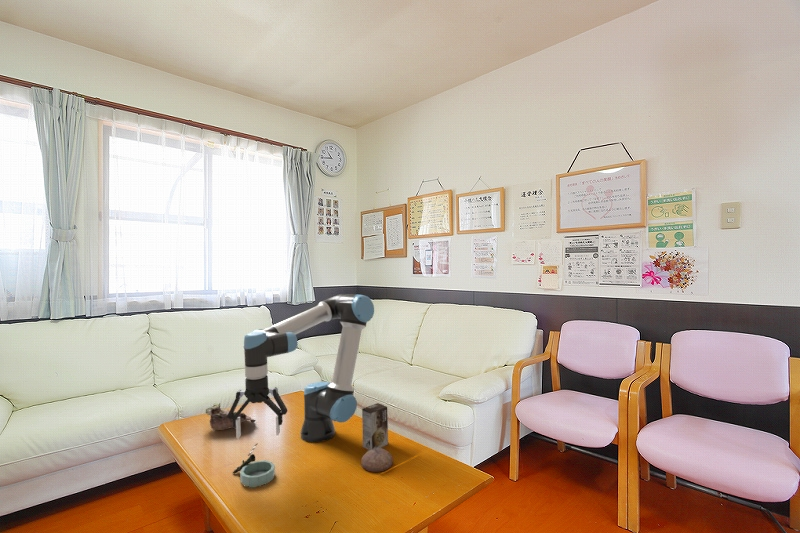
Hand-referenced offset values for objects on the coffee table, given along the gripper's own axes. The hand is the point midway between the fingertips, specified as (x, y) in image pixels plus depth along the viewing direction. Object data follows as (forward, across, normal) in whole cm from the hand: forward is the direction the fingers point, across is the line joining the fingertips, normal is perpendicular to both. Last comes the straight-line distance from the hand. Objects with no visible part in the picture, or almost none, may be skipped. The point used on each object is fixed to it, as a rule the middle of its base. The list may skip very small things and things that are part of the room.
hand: (258, 435), depth 137 cm
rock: (+16, +26, -47) cm, 56 cm away
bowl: (+15, +1, 0) cm, 15 cm away
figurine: (+7, +1, -2) cm, 8 cm away
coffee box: (+16, -42, -18) cm, 49 cm away
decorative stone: (+18, -44, +1) cm, 47 cm away
